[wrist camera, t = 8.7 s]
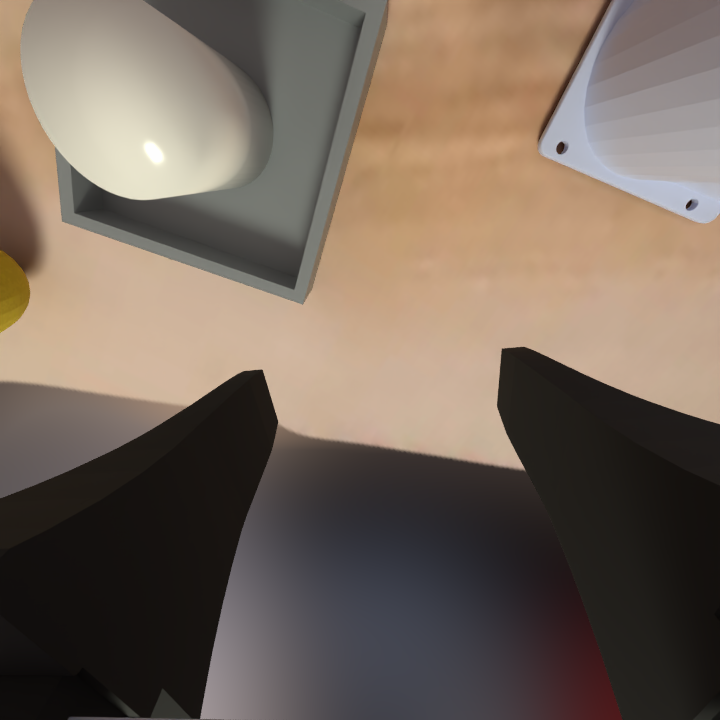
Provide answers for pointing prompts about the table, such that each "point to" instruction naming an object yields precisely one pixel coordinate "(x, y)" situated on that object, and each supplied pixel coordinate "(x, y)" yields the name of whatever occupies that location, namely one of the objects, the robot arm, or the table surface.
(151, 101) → the capsule
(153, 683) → the robot arm
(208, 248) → the tray
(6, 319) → the lemon
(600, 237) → the table surface
